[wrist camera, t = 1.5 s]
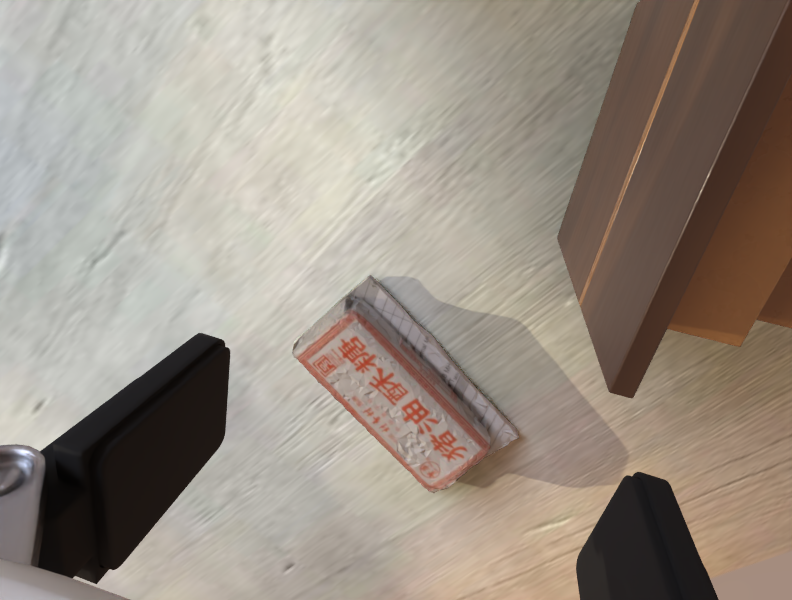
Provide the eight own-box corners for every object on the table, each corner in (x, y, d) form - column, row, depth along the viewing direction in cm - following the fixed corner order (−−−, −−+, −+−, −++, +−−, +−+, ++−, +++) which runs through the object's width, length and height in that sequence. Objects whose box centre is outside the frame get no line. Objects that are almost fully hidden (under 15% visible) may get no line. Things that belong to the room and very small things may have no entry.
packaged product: (267, 368, 36) (353, 293, 32) (294, 339, 40) (372, 270, 36) (423, 521, 39) (521, 470, 34) (432, 479, 43) (520, 429, 39)
